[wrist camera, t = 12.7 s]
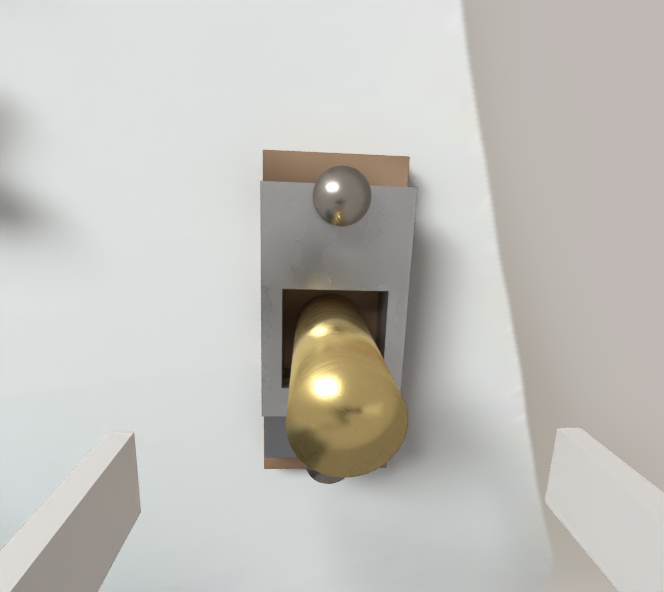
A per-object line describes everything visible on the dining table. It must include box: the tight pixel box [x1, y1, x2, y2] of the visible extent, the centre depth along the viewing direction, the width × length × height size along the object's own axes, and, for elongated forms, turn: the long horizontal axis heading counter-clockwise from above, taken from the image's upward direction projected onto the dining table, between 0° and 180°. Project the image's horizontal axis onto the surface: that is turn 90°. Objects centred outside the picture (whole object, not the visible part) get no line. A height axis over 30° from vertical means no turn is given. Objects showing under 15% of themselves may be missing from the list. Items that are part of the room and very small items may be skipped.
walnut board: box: [263, 150, 410, 469], centre depth 27 cm, size 22×9×2 cm, turn 178°
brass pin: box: [286, 294, 408, 477], centre depth 20 cm, size 4×4×12 cm
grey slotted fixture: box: [260, 165, 417, 484], centre depth 23 cm, size 20×9×5 cm, turn 178°
